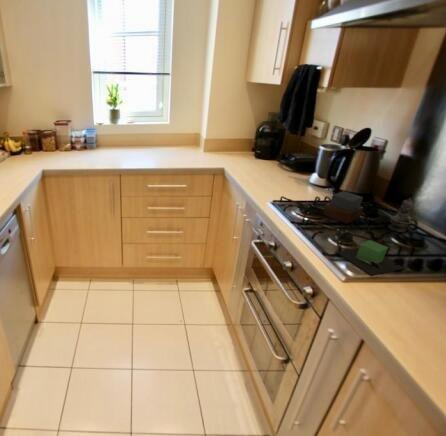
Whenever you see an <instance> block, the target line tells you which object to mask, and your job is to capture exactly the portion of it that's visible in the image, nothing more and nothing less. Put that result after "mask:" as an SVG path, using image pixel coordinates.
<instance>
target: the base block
mask: <svg viewBox="0 0 446 436" xmlns="http://www.w3.org/2000/svg"><path fill="white" fill-rule="evenodd" d="M330 203H331V201H330V202H327V203H325V205H324V208H323V211H322V215H324V216H325V217H327V218H331V219H333V220H336V221H338V222H341V223H344V224H349V223H351V222H353V221H356V220H359V219H360V218H361V216H362V215H363V214H362V213H363V211H364V208H365V207H364V206H361V205H360V207H358V208H356V209H353V210H351V211H347V210H344V209H342V208H339V207H336V206H333V205H331V204H330Z"/></svg>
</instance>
